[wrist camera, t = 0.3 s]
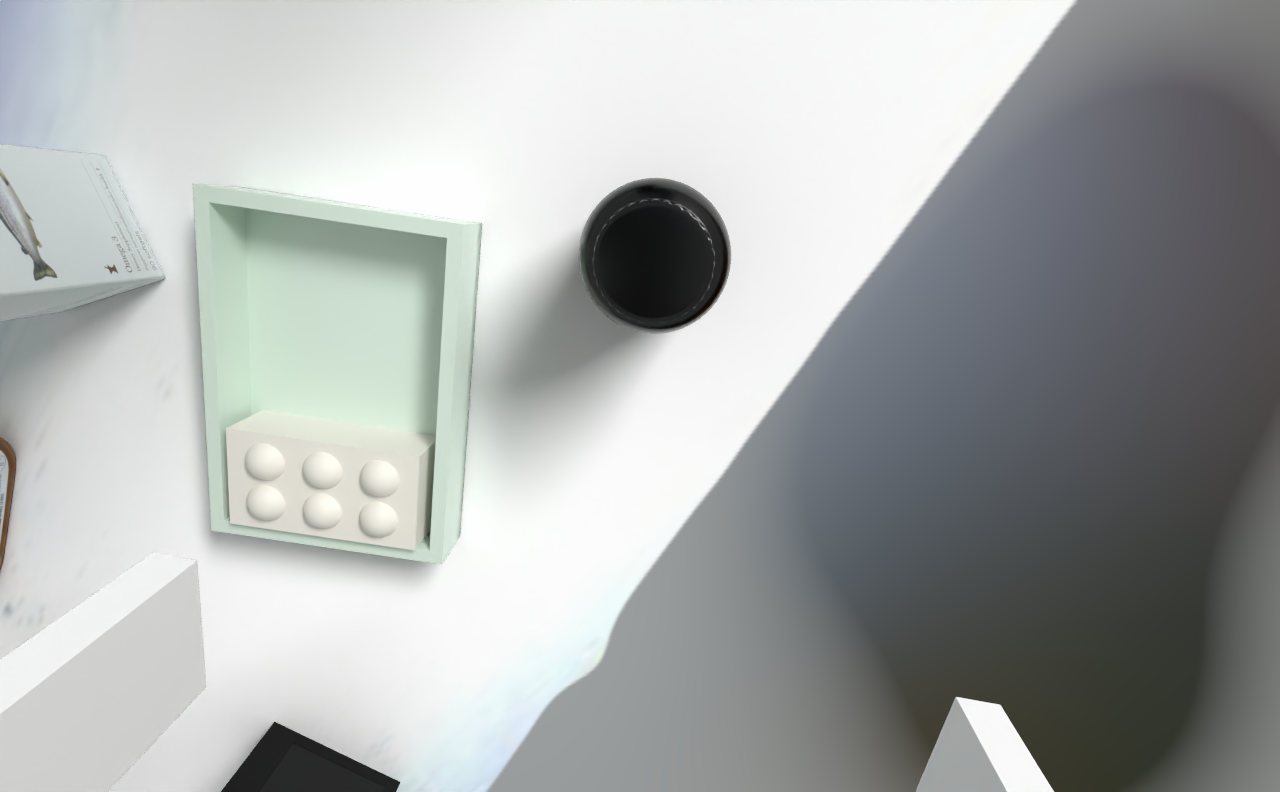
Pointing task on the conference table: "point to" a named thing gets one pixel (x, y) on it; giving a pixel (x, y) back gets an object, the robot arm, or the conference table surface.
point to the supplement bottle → (654, 255)
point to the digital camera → (303, 768)
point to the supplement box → (65, 233)
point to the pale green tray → (337, 333)
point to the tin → (5, 489)
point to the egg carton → (331, 479)
